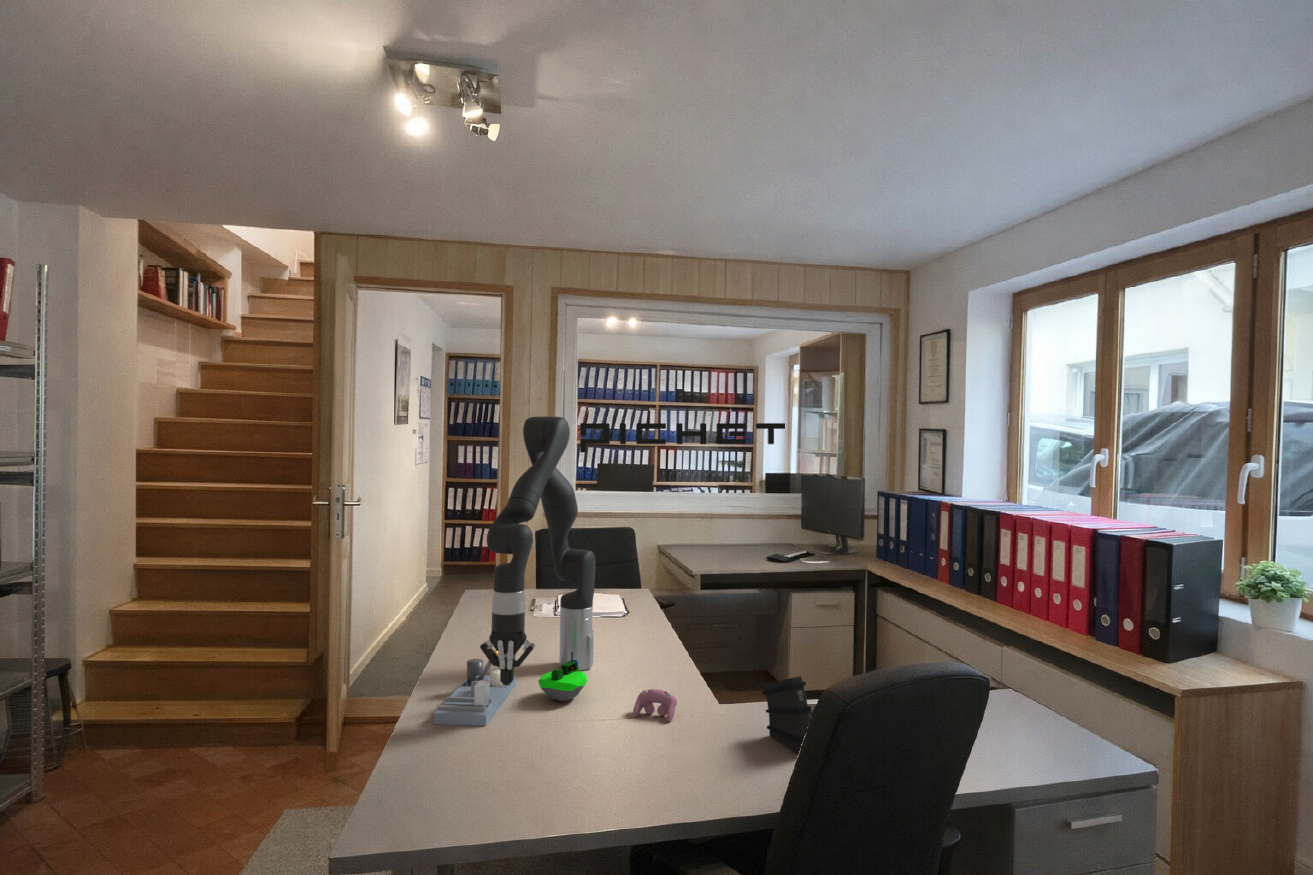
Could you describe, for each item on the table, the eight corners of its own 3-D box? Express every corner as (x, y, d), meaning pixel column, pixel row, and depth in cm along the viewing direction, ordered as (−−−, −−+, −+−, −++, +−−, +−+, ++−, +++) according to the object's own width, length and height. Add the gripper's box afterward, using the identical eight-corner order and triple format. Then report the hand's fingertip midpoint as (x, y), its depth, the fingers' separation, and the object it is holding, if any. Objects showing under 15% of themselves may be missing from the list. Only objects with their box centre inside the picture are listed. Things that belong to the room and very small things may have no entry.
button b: (484, 679, 182) (485, 658, 182) (480, 684, 178) (480, 663, 178) (469, 678, 182) (469, 658, 182) (464, 683, 178) (464, 663, 178)
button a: (507, 689, 182) (507, 669, 182) (503, 695, 178) (503, 674, 178) (492, 689, 182) (492, 669, 182) (487, 695, 178) (488, 674, 178)
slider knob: (489, 701, 167) (489, 680, 167) (484, 708, 163) (484, 686, 163) (479, 701, 167) (479, 680, 167) (474, 707, 163) (474, 686, 163)
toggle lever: (481, 686, 174) (502, 651, 174) (478, 689, 172) (499, 654, 171) (474, 681, 174) (494, 646, 174) (470, 685, 172) (491, 649, 171)
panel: (515, 685, 186) (515, 662, 186) (485, 726, 160) (486, 699, 160) (470, 683, 186) (470, 661, 186) (433, 724, 160) (434, 697, 160)
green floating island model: (556, 688, 185) (556, 645, 185) (595, 695, 179) (595, 651, 180) (529, 703, 174) (529, 658, 174) (569, 711, 169) (569, 664, 169)
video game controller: (675, 724, 166) (680, 693, 169) (670, 722, 162) (675, 690, 165) (636, 718, 169) (641, 687, 172) (630, 716, 165) (635, 685, 168)
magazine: (808, 754, 144) (789, 678, 150) (772, 757, 155) (756, 686, 160) (823, 750, 146) (803, 675, 152) (786, 754, 157) (769, 684, 162)
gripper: (475, 612, 161) (473, 688, 161) (532, 614, 160) (531, 690, 160) (485, 604, 168) (483, 677, 168) (540, 606, 168) (538, 679, 167)
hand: (506, 684), depth 164 cm, fingers closed
